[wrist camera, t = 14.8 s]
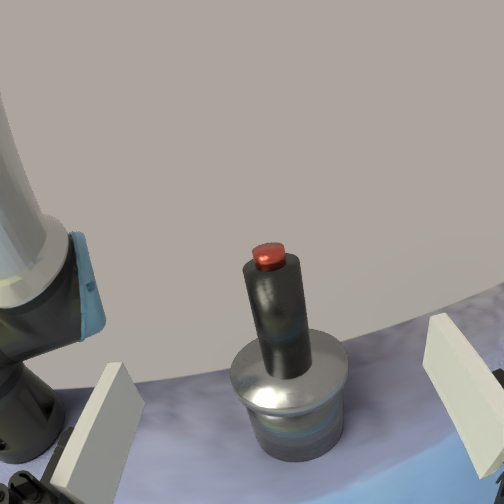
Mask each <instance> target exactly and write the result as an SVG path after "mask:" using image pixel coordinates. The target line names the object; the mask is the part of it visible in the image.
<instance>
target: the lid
mask: <svg viewBox="0 0 504 504" xmlns="http://www.w3.org/2000/svg"><path fill="white" fill-rule="evenodd" d="M252 253H253V258H254V259H252V260H251V261H249V262H248V263H246V264H245V265H244V267H243V274H244V278H245V283H246V287H247V291H248V296H249V300H250V305H251V309H252V314H253V318H254V322H255V327H256V331H257V336H258V338H257V339H255V340H253V341H252V342H251V343H249V344H247V345H246V346H245V347H244V348H243V349H242V350H241V351H240V352H239V353H238V354H237V356H236V357H235V359H234V361H233V362H232V365H231V369H230V378H231V382H232V385H233V388H234V391H235V393H236V396H237V397H238V399H239V400H240V401H241V402H242V403H243V404H244V405H245V406H246V407H248V408H249V409H251V410H253V411H255V412H257V413H260V414H263V415H267V416H272V417H295V416H300V415H304V414H307V413H311V412H313V411H316V410H318V409H320V408H322V407H323V406H325V405H327V404H328V403H329V402H331V401H332V400H333V399H334V398H335V397H336V396H337V395H338V394H339V393H340V392H341V391H342V389H343V387H344V386H345V384H346V381H347V378H348V355H347V352H346V350H345V348H344V346H343V345H342V344H341V343H340V341H338V340H337V339H336V338H334V337H333V336H331V335H329V334H327V333H325V332H322V331H318V330H314V329H309V328H308V320H307V313H306V306H305V297H304V290H303V283H302V275H301V268H300V261H299V259H298V257H297V256H295V255H293V254H289V253H285V249H284V245H283V244H281V243H266V244H262V245H259V246H257V247H255V248H254V249H253V250H252Z"/></svg>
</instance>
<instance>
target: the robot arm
mask: <svg viewBox="0 0 504 504" xmlns="http://www.w3.org/2000/svg"><path fill="white" fill-rule="evenodd" d="M105 324H106V317H105V313H104V310H103V306H102V303H101V299H100V295H99V292H98V288H97V285H96V281H95V277H94V273H93V269H92V265H91V261H90V257H89V252H88V248H87V244H86V239H85V236H84V234H83V233H82V232H73V231H72V232H70V233H69V234H67V232H66V229H65V228H64V226H63V224H62V223H61V222H60V221H59V220H58V219H56V218H55V217H53V216H50V215H47V214H42V212H41V210H40V208H39V205H38V203H37V201H36V198H35V196H34V193H33V191H32V189H31V186H30V184H29V181H28V178H27V176H26V173H25V171H24V168H23V166H22V162H21V160H20V157H19V154H18V151H17V148H16V145H15V143H14V140H13V136H12V133H11V130H10V127H9V123H8V120H7V117H6V113H5V110H4V106H3V102H2V98H1V94H0V460H1V461H3V462H5V463H10V464H17V463H23V462H26V461H29V460H31V459H33V458H35V457H37V456H39V455H40V454H41V453H43V452H44V451H45V450H46V449H47V448H48V447H49V446H50V445H51V444H52V443H53V442H54V440H55V439H56V438H57V436H58V434H59V433H60V430H61V428H62V426H63V422H64V417H65V411H64V406H63V404H62V402H61V400H60V399H59V397H58V396H57V394H56V393H55V392H54V390H53V389H52V388H51V387H50V386H48V385H47V384H46V383H45V382H44V381H42V380H41V379H40V378H39V377H38V376H36V375H35V374H34V373H33V372H32V371H31V370H29V369H28V368H27V367H26V366H25V365H24V363H23V362H22V361H24V360H27V359H30V358H33V357H36V356H38V355H41V354H44V353H47V352H49V351H52V350H55V349H58V348H61V347H64V346H67V345H70V344H73V343H76V342H82V341H83V340H84V339H85V338H87V337H90V336H92V335H94V334H96V333H98V332H100V331H101V330H102V329H103V328H104V326H105ZM422 365H423V367H424V369H425V370H426V372H427V374H428V376H429V378H430V379H431V381H432V383H433V385H434V387H435V389H436V390H437V392H438V394H439V396H440V398H441V400H442V402H443V404H444V406H445V407H446V409H447V411H448V413H449V415H450V417H451V419H452V421H453V423H454V425H455V427H456V429H457V431H458V433H459V435H460V437H461V439H462V441H463V444H464V446H465V448H466V450H467V452H468V454H469V456H470V459H471V461H472V463H473V465H474V467H475V470H476V472H477V474H478V476H479V479H480V480H481V479H483V478H485V477H487V476H489V475H491V474H493V473H495V472H497V471H498V469H499V468H500V467H501V465H502V464H503V463H504V371H503V370H502V369H498V370H495V371H493V372H491V371H490V370H489V368H488V367H487V365H486V364H485V363H484V361H483V360H482V359H481V357H480V356H479V355H478V353H477V352H476V351H475V349H474V348H473V347H472V346H471V344H470V343H469V342H468V340H467V339H466V338H465V337H464V335H463V334H462V333H461V331H460V330H459V329H458V328H457V326H456V325H455V324H454V323H453V322H452V320H451V319H450V318H449V317H448V315H447V314H446V313H442V314H438V315H434V316H430V320H429V328H428V335H427V341H426V347H425V353H424V359H423V364H422ZM144 406H145V402H144V401H143V399H142V397H141V395H140V394H139V392H138V390H137V388H136V386H135V385H134V383H133V381H132V379H131V377H130V376H129V374H128V372H127V370H126V368H125V366H124V364H123V362H110V363H108V364H107V366H106V368H105V370H104V371H103V373H102V375H101V377H100V379H99V381H98V383H97V385H96V387H95V389H94V390H93V392H92V394H91V396H90V398H89V400H88V402H87V404H86V406H85V408H84V410H83V412H82V414H81V416H80V418H79V420H78V422H77V424H76V426H75V428H74V427H69V428H68V429H67V430H66V431H65V432H64V434H63V435H62V436H61V438H60V440H59V442H58V444H57V447H56V448H55V450H54V454H52V457H51V459H50V461H49V463H48V465H47V467H46V469H45V471H44V474H43V476H42V478H41V480H40V482H39V481H38V480H37V479H36V478H35V477H34V476H33V475H32V474H31V473H29V472H28V471H24V470H22V471H18V472H16V473H15V474H13V476H12V477H11V478H10V480H9V483H8V487H7V486H5V485H4V484H2V483H0V504H113V502H114V499H115V496H116V492H117V489H118V486H119V482H120V479H121V476H122V473H123V470H124V466H125V463H126V460H127V457H128V454H129V451H130V448H131V445H132V442H133V439H134V436H135V433H136V430H137V427H138V424H139V421H140V418H141V415H142V412H143V409H144ZM501 480H502V481H501ZM500 481H501V484H500V487H499V490H498V493H497V496H496V499H495V502H494V504H504V472H503V473H502V474H501V475H500V477H499V478H498V479H497V481H496V483H497V484H498V483H499V482H500Z"/></svg>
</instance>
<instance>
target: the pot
mask: <svg viewBox="0 0 504 504" xmlns="http://www.w3.org/2000/svg"><path fill="white" fill-rule="evenodd" d="M246 408H247V411H248V414H249V417H250V420H251V423H252V426H253V429H254V432H255V435H256V438H257V441H258V443H259V445H260V446H261V448H262V449H263V450H264V451H265V452H266V453H267V454H268V455H270V456H272V457H273V458H276V459H278V460H282V461H286V462H304V461H309V460H312V459H315V458H318V457H320V456H322V455H323V454H325V453H327V452H328V451H329V450H331V449H332V448H333V447H334V446H335V444H336V443H337V442H338V440H339V438H340V436H341V434H342V430H343V389H342V391H341V392H340V393H339V394H338V395H337V396H336V397H335V398H334V399H333V400H332V401H331V402H329V403H328V404H327V405H325V406H323V407H322V408H320V409H318V410H316V411H313V412H311V413H307V414H304V415H300V416H295V417H272V416H267V415H263V414H260V413H257V412H255V411H253V410H251V409H249V408H248V407H246Z"/></svg>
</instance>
